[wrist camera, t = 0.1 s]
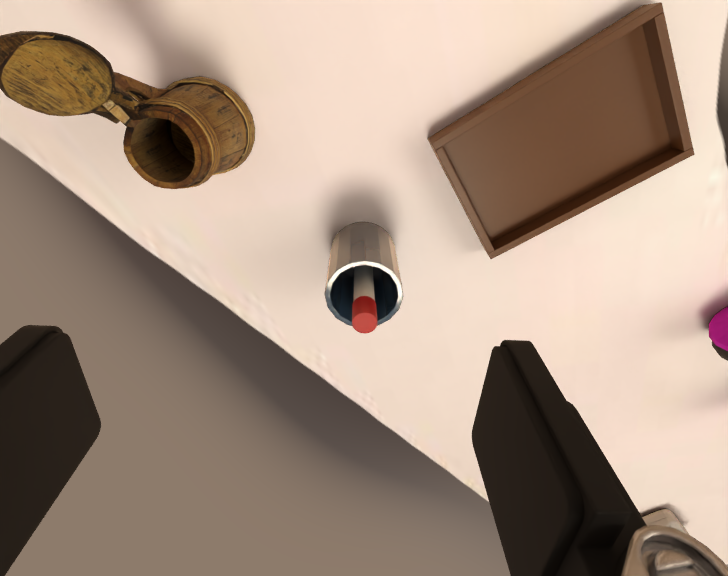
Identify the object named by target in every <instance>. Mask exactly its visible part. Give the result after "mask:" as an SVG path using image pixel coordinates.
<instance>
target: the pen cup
mask: <svg viewBox="0 0 728 576" xmlns="http://www.w3.org/2000/svg"><path fill="white" fill-rule="evenodd" d="M362 265H368V266H372V267H373V281H374V295H375V302H376V309H377V326H378V325H380V324H382V323H384V322H386V321H388V320H389V319H391V317H392V316H393V315H394V314H395V313H396V312H397V311H398V310H399V308H400V305H401V302H402V299H403V291H402V283H401V278H400V273H399V267H398V262H397V257H396V251H395V246H394V243H393V240H392V238H391V236H390V235H389V234H388V232H387V231H386V230H384V229H383V228H382V227H380V226H378V225H376V224H373V223H369V222H357V223H353V224H350V225H348V226H346V227H344V228H343V229H342V230H341V231H339V233H338V234H337V235H336V236H335V238H334V240H333V242H332V247H331V252H330V258H329V266H328V273H327V281H326V288H325V298H326V302H327V306H328V308H329V310H330V311H331V312H332V313H333V315H334V316H335V317H336V318H337V319H339V320H340V321H342V322H344V323H346V324H347V325H350V326H353V325H352V305H353V302H354V267H356V266H362Z"/></svg>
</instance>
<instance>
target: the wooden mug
mask: <svg viewBox="0 0 728 576" xmlns="http://www.w3.org/2000/svg"><path fill="white" fill-rule="evenodd" d="M0 89H1V90H2V91H3V92H4V94H5V95H6V96H7V97H9V98H10V99H12V100H14V101H16V102H17V103H19V104H21V105H22V106H24V107H27V108H29V109H32V110H35V111H38V112H41V113H44V114H48V115H55V116H72V115H82V114H89V113H95V114H97V115H100V116H103V117H105V118H107V119H109V120H111V121H113V122H114V123H116V124H117V123H118V122H119V121H121V122H122V123H123V124H124V125H125V126H127V128H126V131H125V136H124V142H123V143H124V152H125V155H126V157H127V159H128V161H129V163H130V164H131V166H132V167H133V168H134V170H135V171H136V172H137V173H138V174H139V175H140V176H141V177H142V178H143V179H145V180H146V181H148V182H149V183H151V184H153V185H154V186H157V187H161V188H169V189H178V188H189V187H195V186H199V185H200V184H202V183H204V182H206V181H207V180H208V179H209V178H210V177H211V176H212V175H215V174H221V173H225V172H227V171H230V170H232V169H234V168H237V167H238V166H239V165H240V164H242V163H243V162H244V161H245V160H246V158H247V157H248V155H249V154H250V152H251V150H252V147H253V144H254V141H255V127H254V122H253V118H252V115H251V113H250V111H249V110H248V108H247V106H246V104H245V103H244V102H243V101H242V100H241V99H240V97H239V96H238V95H237V94H236V93H235V92H234V91H232V90H231V89H230V88H229V87H227V86H225V85H224V84H222V83H220V82H218V81H216V80H214V79H210V78H205V77H201V76H199V77H192V78H186V79H182V80H179V81H176V82H173V83H172V84H171V85H169V86H168V87H167V88H166V89H157V88H155V87H152V86H149V85H146V84H144V83H142V82H139V81H137V80H135V79H132V78H130V77H127V76H125V75H122V74H119V73H116V72H113V70H112V67H111V64H110V62H109V61H108V60H107V59H106V58H105V57H104V56H103V55H102V54H100V53H99V52H98V51H97V50H95V49H94V48H93V47H91V46H90V45H88V44H86V43H84V42H82V41H80V40H78V39H75V38H73V37H70V36H67V35H62V34H58V33H53V32H37V31H20V32H15V33H10V34H6V35H1V36H0ZM133 97H134V98H133ZM137 100H138V101H139V102H138V101H137Z"/></svg>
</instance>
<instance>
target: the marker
mask: <svg viewBox="0 0 728 576" xmlns="http://www.w3.org/2000/svg"><path fill="white" fill-rule="evenodd" d="M352 325H353V328H354V329H355V330H356V331H358V332H360V333H369V332H372V331H373V330H374V329H375V328H376V326H377V309H376V302H375V295H374V281H373V267H372V266H368V265H362V266H356V267H354V302H353V305H352Z"/></svg>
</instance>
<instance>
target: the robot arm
mask: <svg viewBox="0 0 728 576" xmlns="http://www.w3.org/2000/svg"><path fill="white" fill-rule="evenodd" d="M100 428H101V421H100V418H99V415H98V413H97V410H96V407H95V404H94V401H93V399H92V396H91V393H90V391H89V388H88V385H87V383H86V380H85V377H84V374H83V372H82V369H81V366H80V363H79V361H78V358H77V356H76V353H75V350H74V347H73V344H72V342H71V339H70V337H69V336H68V335H67V334H65V333H63V332H62V330H61V329H60V328H59V327H56V326H38V325H37V326H36V325H28V326H24V327H22V328H20V329H19V330H18V331H17V332H15V333H14V334H13V335H12V336H10V337H9V338H8V339H7V340H5V342H3V343H2V344H1V345H0V576H5V574H6V573H7V571H8V570H9V568H10V567H11V565H12V564H13V562H14V561H15V559H16V558H17V556H18V555H19V554H20V552H21V551H22V549H23V547H24V546H25V545H26V543H27V541H28V540H29V539H30V537H31V536H32V534H33V532H34V531H35V530H36V528H37V527H38V525H39V523H40V522H41V520H42V519H43V518H44V516H45V515H46V513H47V512H48V510H49V508H50V507H51V506H52V504H53V503H54V501H55V500H56V498H57V497H58V495H59V494H60V492H61V491H62V489H63V488H64V486H65V485H66V483H67V482H68V480H69V479H70V477H71V476H72V474H73V473H74V471H75V470H76V468H77V467H78V465H79V464H80V462H81V461H82V459H83V458H84V456H85V455H86V453H87V452H88V450H89V449H90V447H91V446H92V445H93V443H94V441H95V440H96V439H97V437H98V435H99V432H100ZM472 442H473V447H474V451H475V454H476V457H477V461H478V464H479V468H480V471H481V475H482V478H483V481H484V485H485V488H486V492H487V495H488V499H489V502H490V505H491V509H492V512H493V516H494V519H495V523H496V526H497V529H498V533H499V536H500V540H501V543H502V546H503V550H504V553H505V557H506V560H507V564H508V567H509V571H510V574H511V576H728V567H727V566H726V565H725V563H724V562H723V561H722V560H721V559H720V558H719V557H718V556H717V555H715V554H714V553H713V552H712V551H711V550H710V549H709V548H708V547H707V546H705V545H704V544H702V543H701V542H699V541H698V540H696V539H695V538H693V537H692V536H690V535H688V534H686V533H684V532H681V531H679V530H677V529H675V528H672V527H667V526H663V525H646V523H645V521H644V520H643V518H642V517H641V515H640V513H639V512H638V510H637V508H636V507H635V505H634V503H633V502H632V500H631V498H630V497H629V495H628V493H627V492H626V490H625V488H624V487H623V485H622V484H621V482H620V480H619V479H618V477H617V475H616V474H615V472H614V470H613V469H612V467H611V465H610V464H609V462H608V460H607V459H606V457H605V456H604V454H603V452H602V451H601V449H600V447H599V446H598V444H597V442H596V441H595V439H594V437H593V436H592V434H591V432H590V431H589V429H588V427H587V426H586V424H585V423H584V421H583V419H582V418H581V416H580V414H579V413H578V411H577V410H576V408H575V407H574V406H573V404H571V403H569V402H568V401H566V399H565V398H564V396H563V394H562V393H561V391H560V389H559V388H558V386H557V384H556V382H555V381H554V379H553V377H552V376H551V374H550V372H549V371H548V369H547V367H546V366H545V364H544V362H543V361H542V359H541V357H540V355H539V354H538V352H537V350H536V349H535V347H534V345H533V344H532V343H531V342H530V341H516V340H504V341H502V343H501V345H500V346H495V347H494V348H493V350H492V353H491V357H490V361H489V365H488V369H487V373H486V377H485V381H484V385H483V389H482V393H481V397H480V401H479V405H478V409H477V413H476V417H475V421H474V425H473V429H472Z"/></svg>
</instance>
